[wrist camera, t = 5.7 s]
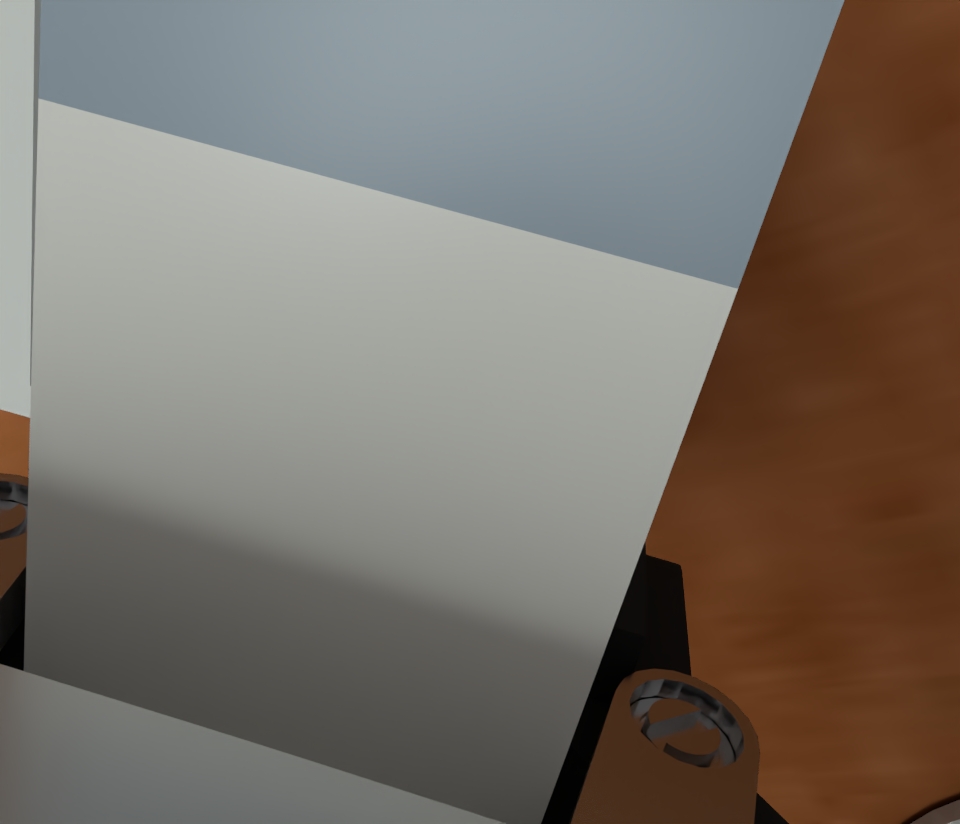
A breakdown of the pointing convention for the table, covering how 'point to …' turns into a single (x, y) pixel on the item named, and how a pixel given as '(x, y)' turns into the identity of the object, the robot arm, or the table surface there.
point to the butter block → (380, 353)
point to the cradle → (18, 196)
